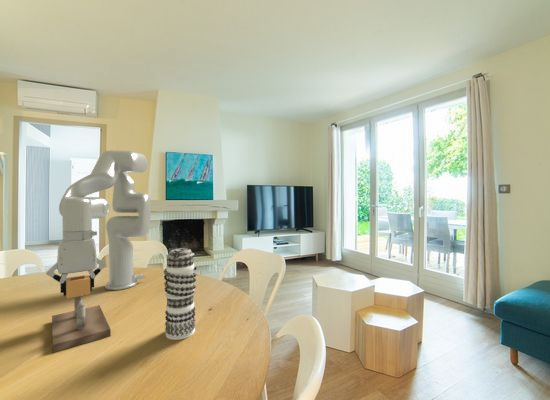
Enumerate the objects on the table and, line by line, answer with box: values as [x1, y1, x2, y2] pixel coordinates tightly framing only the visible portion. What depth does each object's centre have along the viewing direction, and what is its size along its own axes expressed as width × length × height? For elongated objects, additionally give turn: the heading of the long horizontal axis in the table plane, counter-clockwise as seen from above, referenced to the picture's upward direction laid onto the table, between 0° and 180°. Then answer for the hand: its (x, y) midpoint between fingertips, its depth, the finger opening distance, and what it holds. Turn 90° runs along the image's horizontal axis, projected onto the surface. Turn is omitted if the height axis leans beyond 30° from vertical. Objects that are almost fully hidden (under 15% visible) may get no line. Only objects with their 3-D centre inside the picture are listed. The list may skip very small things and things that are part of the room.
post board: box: [51, 296, 112, 353], centre depth 83 cm, size 13×22×10 cm, turn 40°
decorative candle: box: [163, 247, 197, 341], centre depth 80 cm, size 9×9×25 cm
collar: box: [65, 273, 91, 299], centre depth 86 cm, size 6×6×5 cm
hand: (77, 291), depth 86 cm, fingers closed on collar, 5 cm apart
